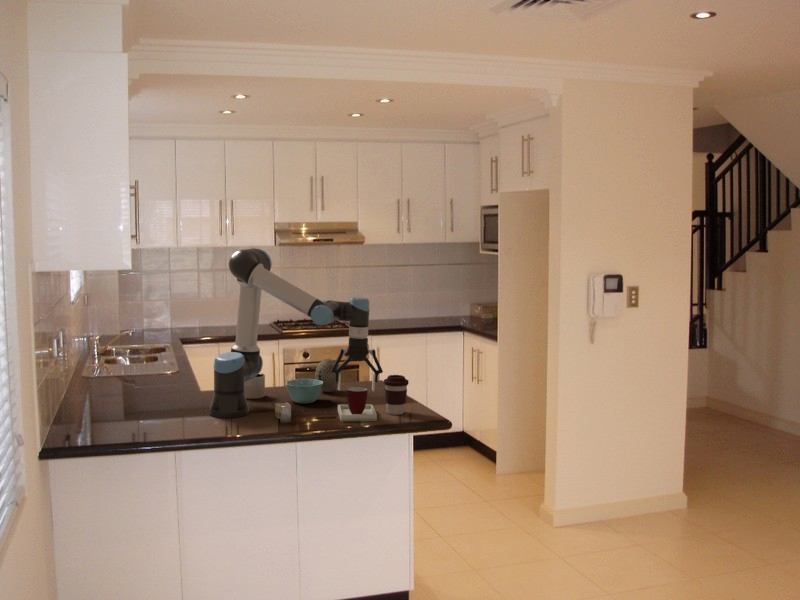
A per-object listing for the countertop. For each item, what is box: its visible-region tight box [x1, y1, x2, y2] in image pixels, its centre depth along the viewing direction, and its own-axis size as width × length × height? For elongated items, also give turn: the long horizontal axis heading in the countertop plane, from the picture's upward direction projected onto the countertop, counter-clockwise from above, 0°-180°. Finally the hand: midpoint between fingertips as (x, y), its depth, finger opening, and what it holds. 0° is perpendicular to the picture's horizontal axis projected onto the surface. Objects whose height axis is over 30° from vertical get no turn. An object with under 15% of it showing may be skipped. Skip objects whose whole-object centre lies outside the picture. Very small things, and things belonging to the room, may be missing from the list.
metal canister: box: [279, 404, 292, 424], centre depth 314 cm, size 4×4×6 cm
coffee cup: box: [383, 374, 409, 416], centre depth 330 cm, size 10×10×15 cm
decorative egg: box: [314, 358, 342, 393], centre depth 365 cm, size 12×12×15 cm
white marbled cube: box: [274, 402, 291, 419], centre depth 320 cm, size 5×5×5 cm
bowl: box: [285, 378, 323, 404], centre depth 347 cm, size 16×16×8 cm
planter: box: [244, 372, 266, 400], centre depth 353 cm, size 11×11×10 cm
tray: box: [337, 403, 378, 422], centre depth 325 cm, size 14×17×2 cm
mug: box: [346, 386, 368, 414], centre depth 324 cm, size 11×8×10 cm
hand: (356, 390), depth 324 cm, fingers open, 13 cm apart
